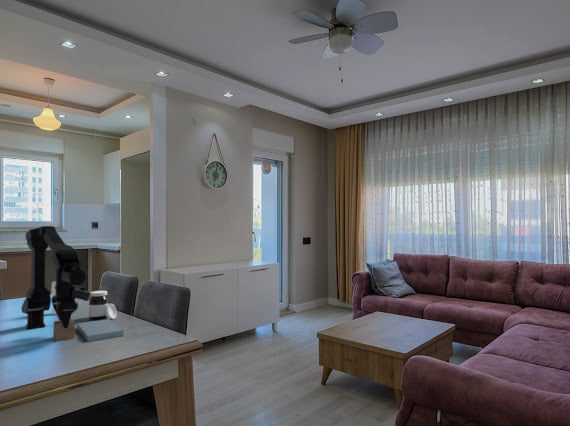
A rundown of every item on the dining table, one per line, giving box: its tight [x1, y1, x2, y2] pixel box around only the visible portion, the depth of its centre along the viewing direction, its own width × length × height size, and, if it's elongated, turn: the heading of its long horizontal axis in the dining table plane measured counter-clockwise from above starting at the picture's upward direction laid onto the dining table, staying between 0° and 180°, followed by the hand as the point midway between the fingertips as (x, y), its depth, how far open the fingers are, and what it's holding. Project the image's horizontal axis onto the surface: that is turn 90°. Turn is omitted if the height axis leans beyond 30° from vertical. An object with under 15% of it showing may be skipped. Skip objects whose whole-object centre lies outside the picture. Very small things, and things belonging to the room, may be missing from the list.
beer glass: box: [50, 280, 57, 316], centre depth 180 cm, size 7×7×15 cm
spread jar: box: [88, 290, 118, 321], centre depth 170 cm, size 12×11×12 cm
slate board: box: [76, 318, 124, 343], centre depth 148 cm, size 22×12×2 cm, turn 37°
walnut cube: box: [53, 318, 76, 342], centre depth 140 cm, size 6×6×6 cm
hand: (64, 325), depth 141 cm, fingers open, 9 cm apart
